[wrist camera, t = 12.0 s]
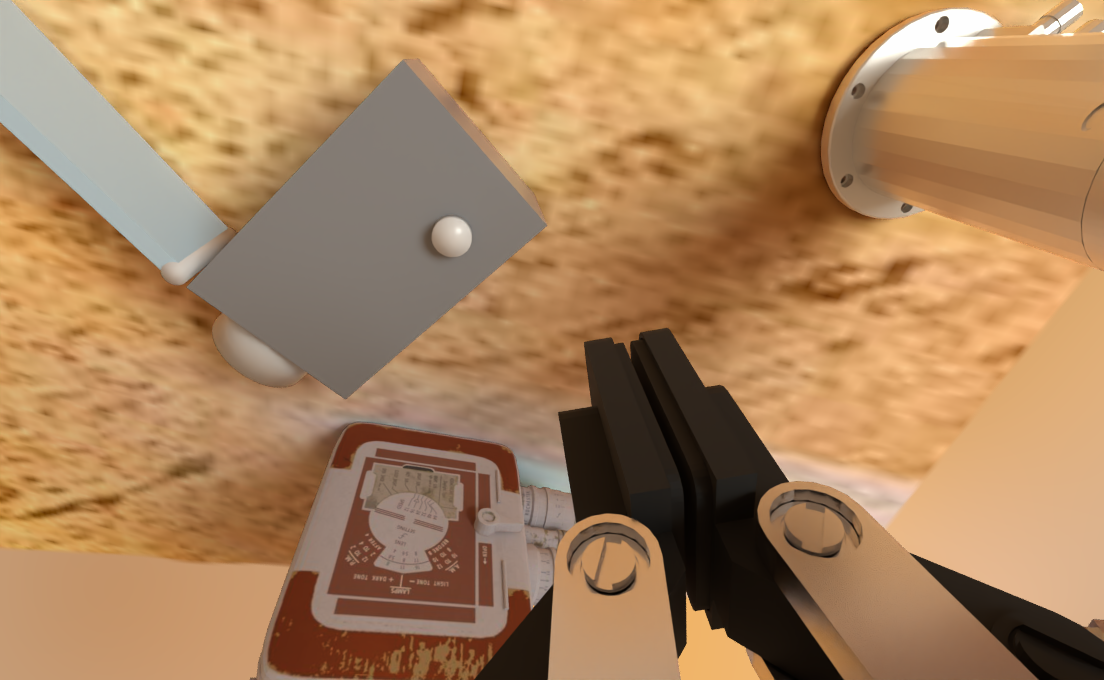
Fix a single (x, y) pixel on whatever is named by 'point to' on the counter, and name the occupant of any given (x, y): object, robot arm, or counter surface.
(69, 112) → the side door
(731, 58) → the counter surface
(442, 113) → the block
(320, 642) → the cine camera
